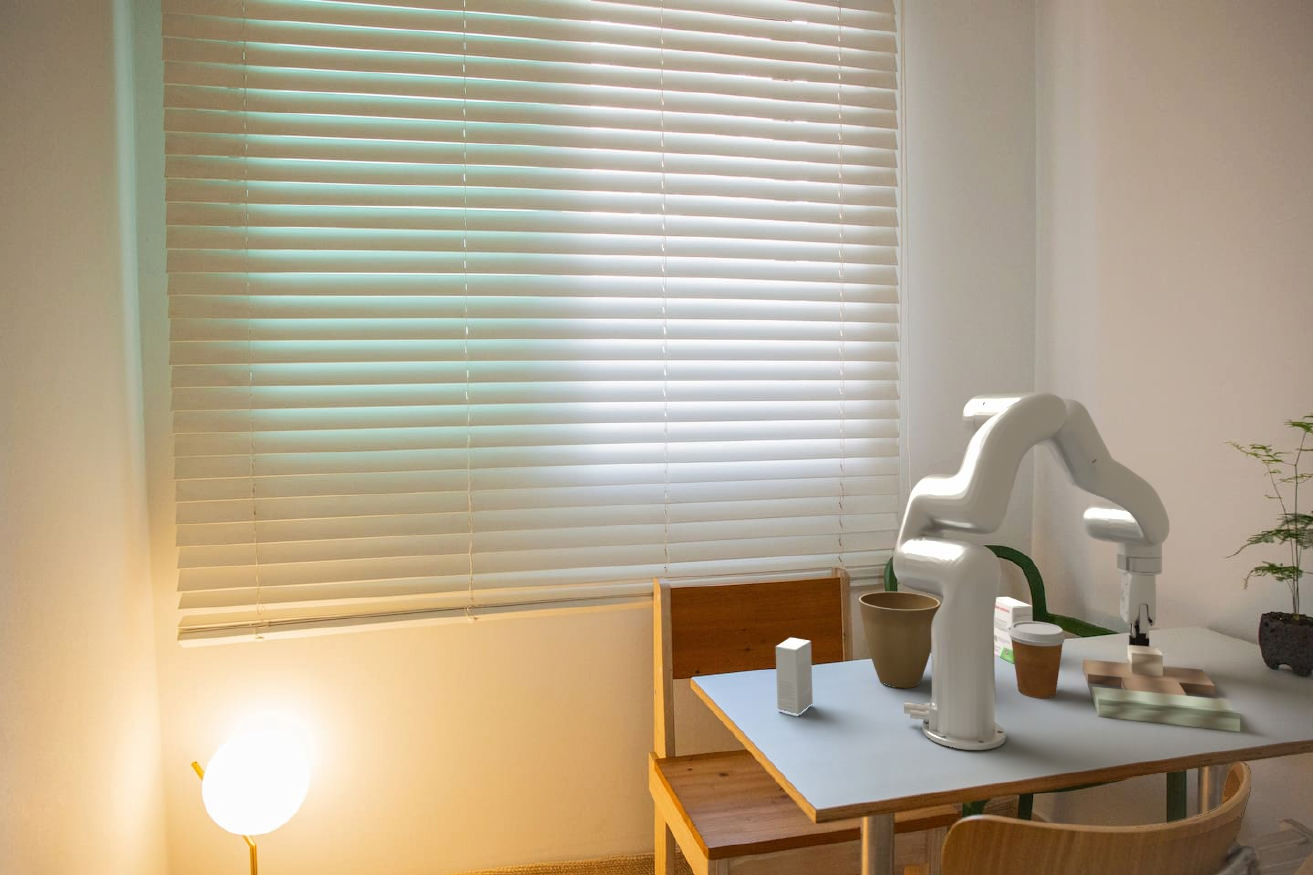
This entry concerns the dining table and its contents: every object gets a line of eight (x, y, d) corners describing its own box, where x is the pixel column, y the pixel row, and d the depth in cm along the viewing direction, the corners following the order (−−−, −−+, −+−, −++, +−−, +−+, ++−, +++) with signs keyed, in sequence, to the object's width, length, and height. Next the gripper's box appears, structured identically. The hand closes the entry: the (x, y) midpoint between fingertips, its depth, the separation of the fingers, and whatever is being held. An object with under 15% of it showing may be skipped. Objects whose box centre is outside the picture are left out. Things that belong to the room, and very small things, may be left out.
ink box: (1034, 662, 165) (1034, 605, 165) (1012, 664, 164) (1012, 606, 164) (1008, 649, 174) (1008, 595, 173) (987, 651, 173) (987, 597, 172)
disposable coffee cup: (997, 687, 152) (996, 623, 152) (1038, 680, 155) (1037, 618, 154) (1035, 704, 143) (1035, 637, 142) (1078, 697, 146) (1078, 631, 145)
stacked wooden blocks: (1098, 716, 137) (1098, 698, 137) (1082, 669, 160) (1082, 654, 160) (1240, 731, 130) (1240, 713, 130) (1202, 679, 153) (1202, 664, 153)
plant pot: (942, 698, 147) (941, 611, 146) (857, 691, 152) (856, 607, 151) (940, 671, 161) (939, 592, 160) (862, 666, 166) (861, 588, 165)
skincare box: (791, 701, 148) (790, 636, 147) (813, 706, 145) (812, 640, 145) (776, 712, 143) (774, 645, 142) (798, 717, 140) (797, 649, 140)
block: (1131, 673, 151) (1131, 652, 151) (1127, 665, 156) (1127, 644, 156) (1162, 676, 150) (1162, 655, 149) (1157, 667, 154) (1157, 647, 154)
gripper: (1111, 555, 166) (1111, 644, 167) (1123, 570, 152) (1123, 667, 153) (1154, 557, 163) (1154, 647, 164) (1169, 573, 149) (1169, 671, 150)
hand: (1139, 656), depth 158 cm, fingers closed
